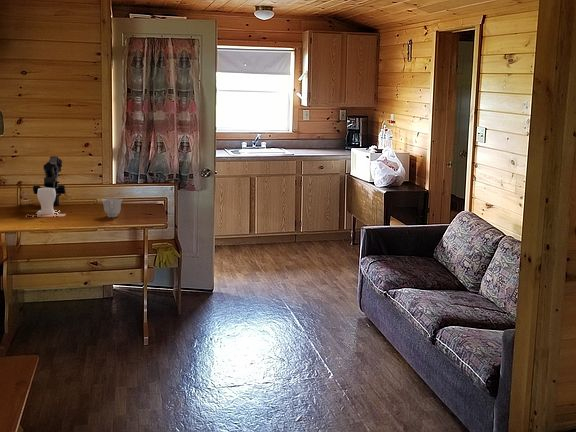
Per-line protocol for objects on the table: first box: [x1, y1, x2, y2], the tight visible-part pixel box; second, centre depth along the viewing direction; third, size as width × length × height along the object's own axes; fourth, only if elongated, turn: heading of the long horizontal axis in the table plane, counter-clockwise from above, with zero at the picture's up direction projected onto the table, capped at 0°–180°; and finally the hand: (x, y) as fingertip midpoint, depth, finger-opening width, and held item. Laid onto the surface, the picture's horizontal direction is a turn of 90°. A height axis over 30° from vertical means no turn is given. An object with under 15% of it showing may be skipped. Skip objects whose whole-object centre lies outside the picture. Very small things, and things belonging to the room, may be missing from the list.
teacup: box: [101, 197, 123, 218], centre depth 419 cm, size 12×15×10 cm
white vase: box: [36, 187, 56, 214], centre depth 425 cm, size 11×11×15 cm
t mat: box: [25, 209, 67, 218], centre depth 427 cm, size 21×22×1 cm
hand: (48, 200), depth 433 cm, fingers closed
